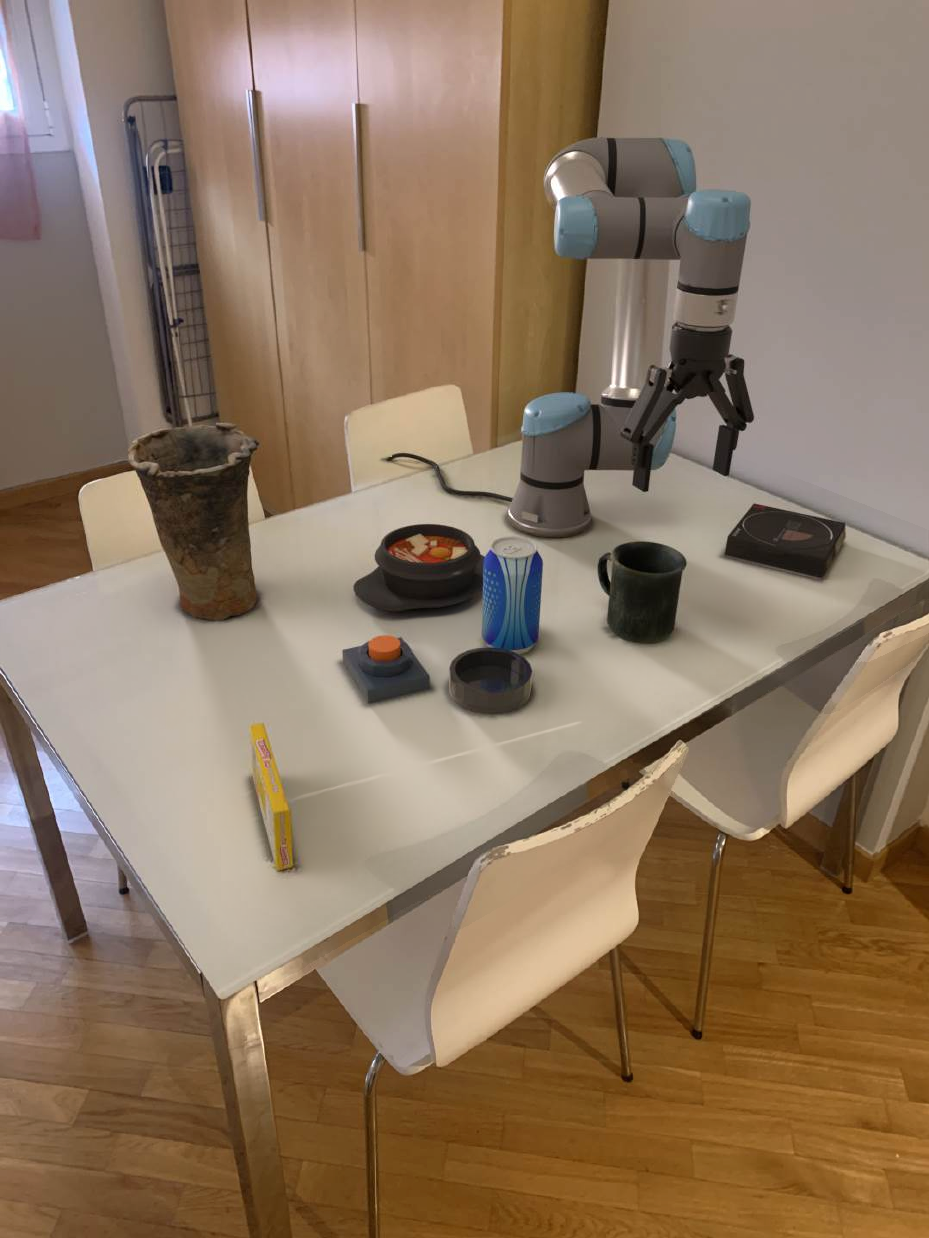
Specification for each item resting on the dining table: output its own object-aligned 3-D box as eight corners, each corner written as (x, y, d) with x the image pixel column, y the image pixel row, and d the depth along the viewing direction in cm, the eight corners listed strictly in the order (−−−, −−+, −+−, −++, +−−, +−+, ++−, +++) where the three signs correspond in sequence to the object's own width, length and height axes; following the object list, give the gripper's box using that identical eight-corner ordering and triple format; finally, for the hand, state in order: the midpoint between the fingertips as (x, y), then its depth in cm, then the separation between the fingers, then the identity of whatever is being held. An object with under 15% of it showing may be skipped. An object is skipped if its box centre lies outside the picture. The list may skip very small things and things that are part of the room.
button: (364, 649, 136) (364, 638, 135) (394, 643, 138) (393, 632, 137) (375, 665, 133) (374, 654, 132) (405, 658, 134) (405, 647, 134)
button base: (342, 662, 140) (341, 638, 138) (401, 649, 143) (401, 626, 141) (368, 703, 131) (367, 679, 129) (430, 689, 134) (429, 664, 132)
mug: (646, 654, 143) (655, 582, 137) (572, 616, 152) (578, 547, 146) (691, 629, 149) (702, 559, 143) (618, 594, 158) (625, 527, 152)
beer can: (479, 629, 148) (481, 534, 140) (533, 627, 149) (539, 532, 141) (484, 659, 141) (487, 560, 133) (542, 657, 142) (548, 559, 134)
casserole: (393, 636, 146) (391, 587, 142) (332, 587, 159) (329, 541, 155) (523, 591, 159) (525, 544, 155) (457, 548, 172) (458, 505, 168)
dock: (436, 678, 137) (436, 657, 135) (508, 661, 141) (509, 640, 139) (469, 722, 128) (470, 700, 126) (544, 703, 132) (546, 681, 130)
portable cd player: (824, 580, 163) (828, 559, 161) (724, 556, 171) (727, 536, 169) (844, 543, 176) (848, 523, 174) (750, 523, 183) (753, 503, 181)
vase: (288, 612, 152) (272, 449, 138) (171, 642, 144) (142, 472, 130) (250, 565, 165) (233, 412, 151) (141, 590, 157) (112, 431, 144)
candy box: (296, 867, 105) (290, 809, 101) (276, 872, 104) (270, 813, 100) (270, 775, 118) (264, 720, 114) (252, 779, 118) (245, 724, 113)
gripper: (637, 341, 116) (620, 505, 127) (799, 321, 125) (770, 475, 136) (603, 326, 122) (589, 484, 132) (760, 308, 131) (735, 457, 142)
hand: (681, 480), depth 134 cm, fingers open, 13 cm apart
